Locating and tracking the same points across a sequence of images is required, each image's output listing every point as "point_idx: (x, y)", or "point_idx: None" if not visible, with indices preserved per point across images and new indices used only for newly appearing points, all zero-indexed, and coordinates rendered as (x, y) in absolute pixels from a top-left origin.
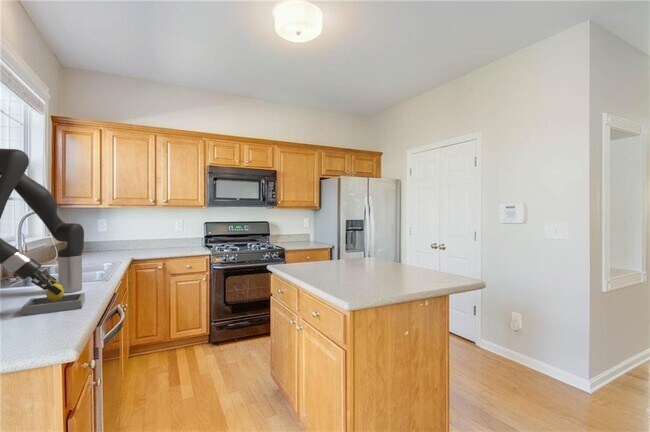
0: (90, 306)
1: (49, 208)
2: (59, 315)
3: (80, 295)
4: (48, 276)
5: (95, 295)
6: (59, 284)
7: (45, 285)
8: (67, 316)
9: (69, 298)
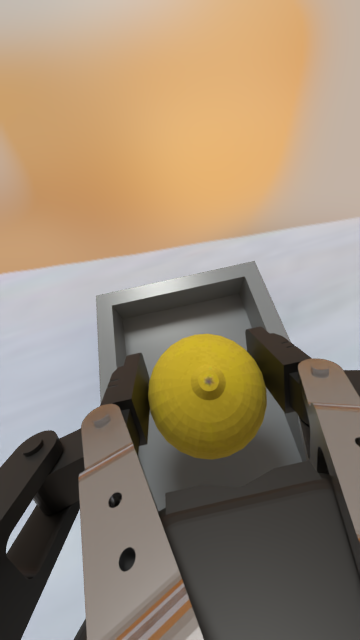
0: (219, 265)
1: None
2: (338, 329)
3: (147, 297)
4: (162, 517)
5: (34, 302)
6: (199, 348)
7: (307, 458)
8: (354, 294)
9: (122, 360)
